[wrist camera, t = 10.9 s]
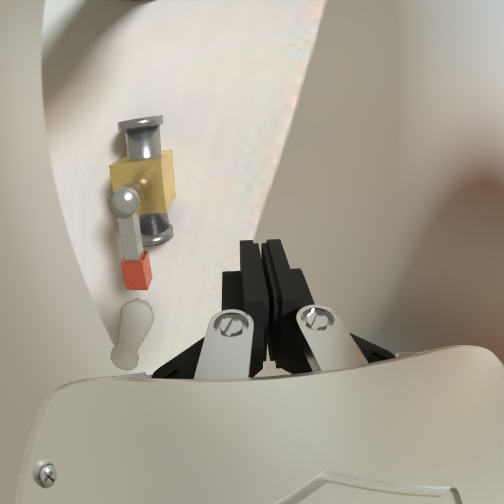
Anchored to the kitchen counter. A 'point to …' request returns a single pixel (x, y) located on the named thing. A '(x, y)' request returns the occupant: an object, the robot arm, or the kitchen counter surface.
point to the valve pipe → (147, 177)
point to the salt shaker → (132, 333)
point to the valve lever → (131, 237)
